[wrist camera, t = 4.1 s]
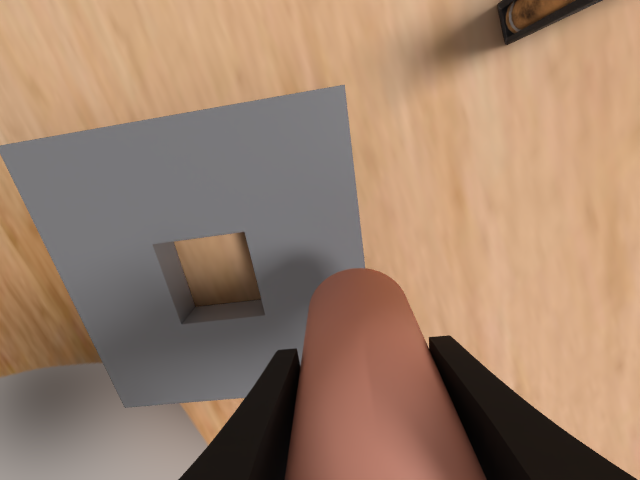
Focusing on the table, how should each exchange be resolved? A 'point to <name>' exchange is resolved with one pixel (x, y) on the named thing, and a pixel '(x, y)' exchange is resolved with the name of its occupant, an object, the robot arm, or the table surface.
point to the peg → (372, 391)
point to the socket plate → (195, 234)
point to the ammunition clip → (535, 15)
